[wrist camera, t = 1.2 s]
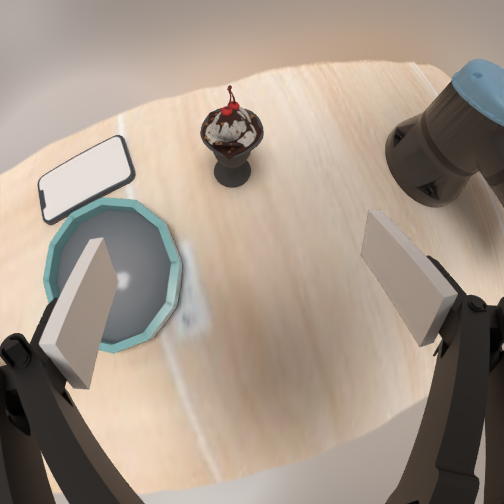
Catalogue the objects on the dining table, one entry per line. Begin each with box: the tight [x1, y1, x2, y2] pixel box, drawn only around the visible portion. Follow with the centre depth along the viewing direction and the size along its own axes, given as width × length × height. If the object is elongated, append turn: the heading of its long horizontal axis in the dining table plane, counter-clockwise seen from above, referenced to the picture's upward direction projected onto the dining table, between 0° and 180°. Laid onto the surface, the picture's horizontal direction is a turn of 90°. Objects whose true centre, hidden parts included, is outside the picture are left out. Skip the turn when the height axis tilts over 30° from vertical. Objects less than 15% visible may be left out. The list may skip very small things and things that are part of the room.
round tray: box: [43, 197, 183, 353], centre depth 35 cm, size 19×19×3 cm
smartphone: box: [38, 135, 135, 225], centre depth 38 cm, size 9×2×16 cm
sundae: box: [200, 85, 264, 187], centre depth 32 cm, size 7×7×15 cm
